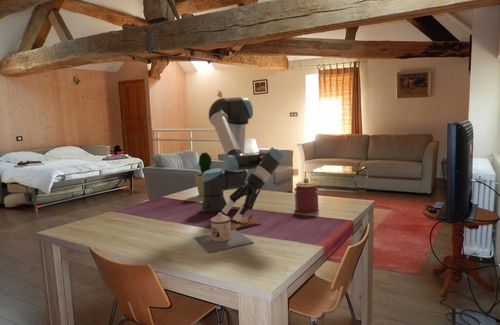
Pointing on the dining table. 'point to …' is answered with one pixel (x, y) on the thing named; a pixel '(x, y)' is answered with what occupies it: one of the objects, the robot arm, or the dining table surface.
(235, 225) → the sunglasses case
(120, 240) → the dining table surface
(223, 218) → the teacup with lid
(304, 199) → the canister
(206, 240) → the charcoal mat
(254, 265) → the dining table surface
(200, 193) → the potted cactus
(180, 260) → the dining table surface
